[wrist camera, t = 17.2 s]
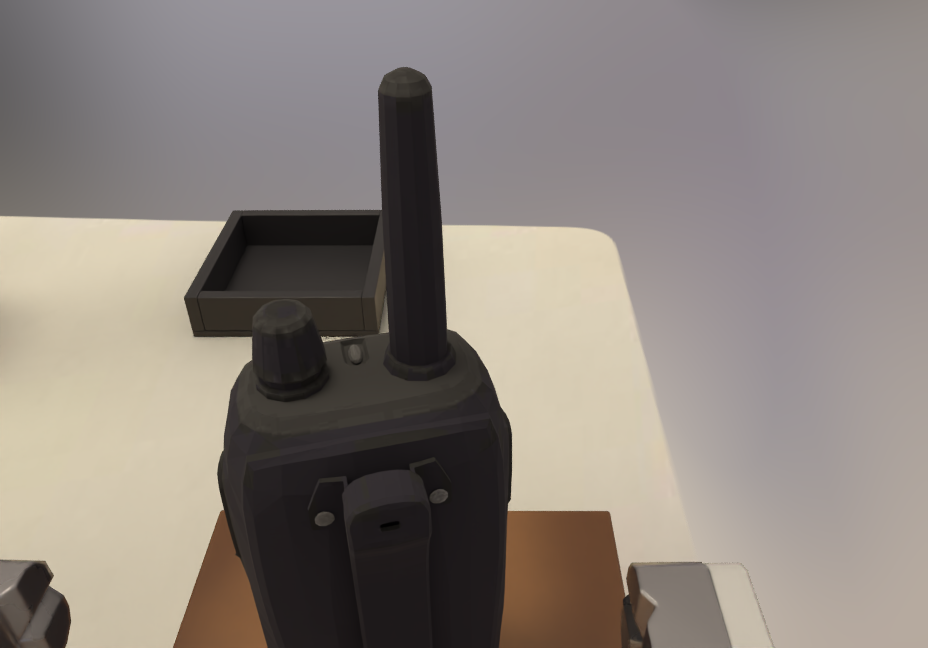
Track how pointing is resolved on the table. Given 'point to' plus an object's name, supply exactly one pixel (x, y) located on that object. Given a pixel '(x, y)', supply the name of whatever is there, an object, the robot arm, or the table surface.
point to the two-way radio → (374, 445)
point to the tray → (293, 271)
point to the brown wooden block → (525, 600)
